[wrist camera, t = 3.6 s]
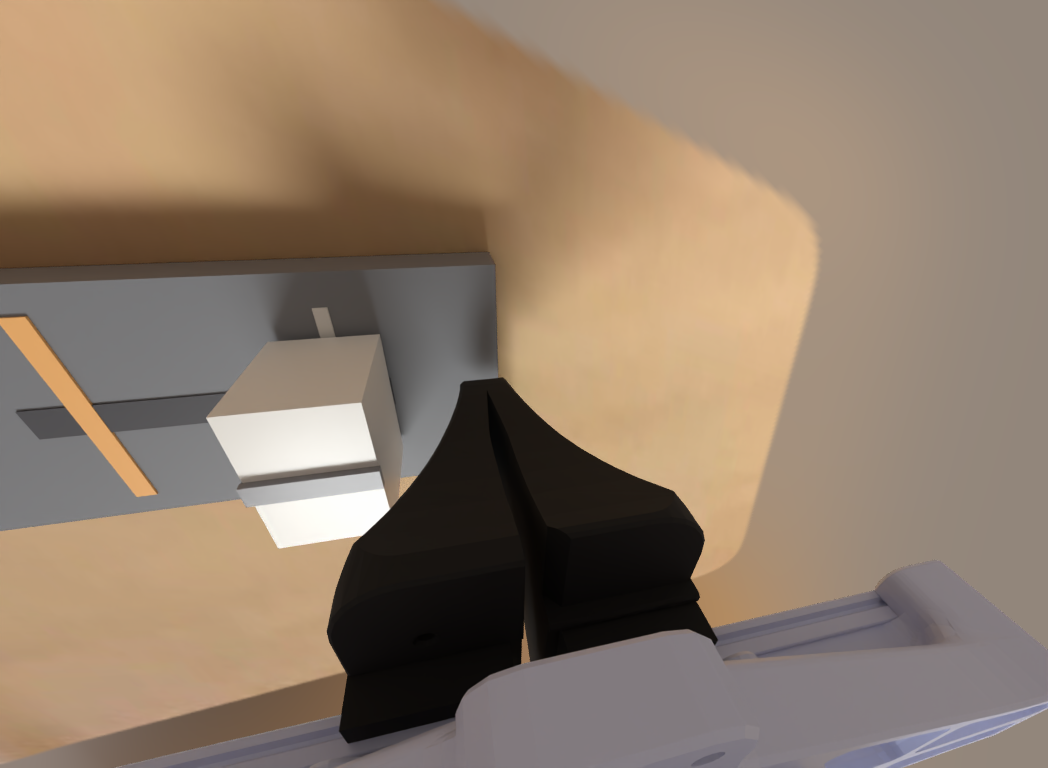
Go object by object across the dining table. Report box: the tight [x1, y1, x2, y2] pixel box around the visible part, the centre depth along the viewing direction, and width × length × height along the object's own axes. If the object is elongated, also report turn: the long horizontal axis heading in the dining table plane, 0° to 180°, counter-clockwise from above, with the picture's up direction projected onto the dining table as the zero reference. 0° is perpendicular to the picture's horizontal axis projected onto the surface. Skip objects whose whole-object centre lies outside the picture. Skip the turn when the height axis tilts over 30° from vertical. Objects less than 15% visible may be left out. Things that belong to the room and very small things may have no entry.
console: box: [0, 252, 498, 531], centre depth 12 cm, size 19×8×2 cm, turn 89°
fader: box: [206, 334, 403, 549], centre depth 11 cm, size 3×4×4 cm
